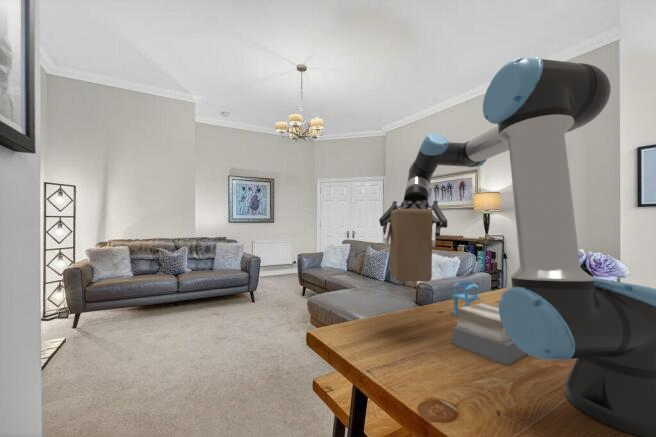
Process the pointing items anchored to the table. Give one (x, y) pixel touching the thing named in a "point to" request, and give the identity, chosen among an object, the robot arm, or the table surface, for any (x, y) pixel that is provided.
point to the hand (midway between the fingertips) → (408, 242)
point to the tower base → (487, 346)
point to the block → (411, 244)
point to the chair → (464, 294)
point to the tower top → (482, 321)
